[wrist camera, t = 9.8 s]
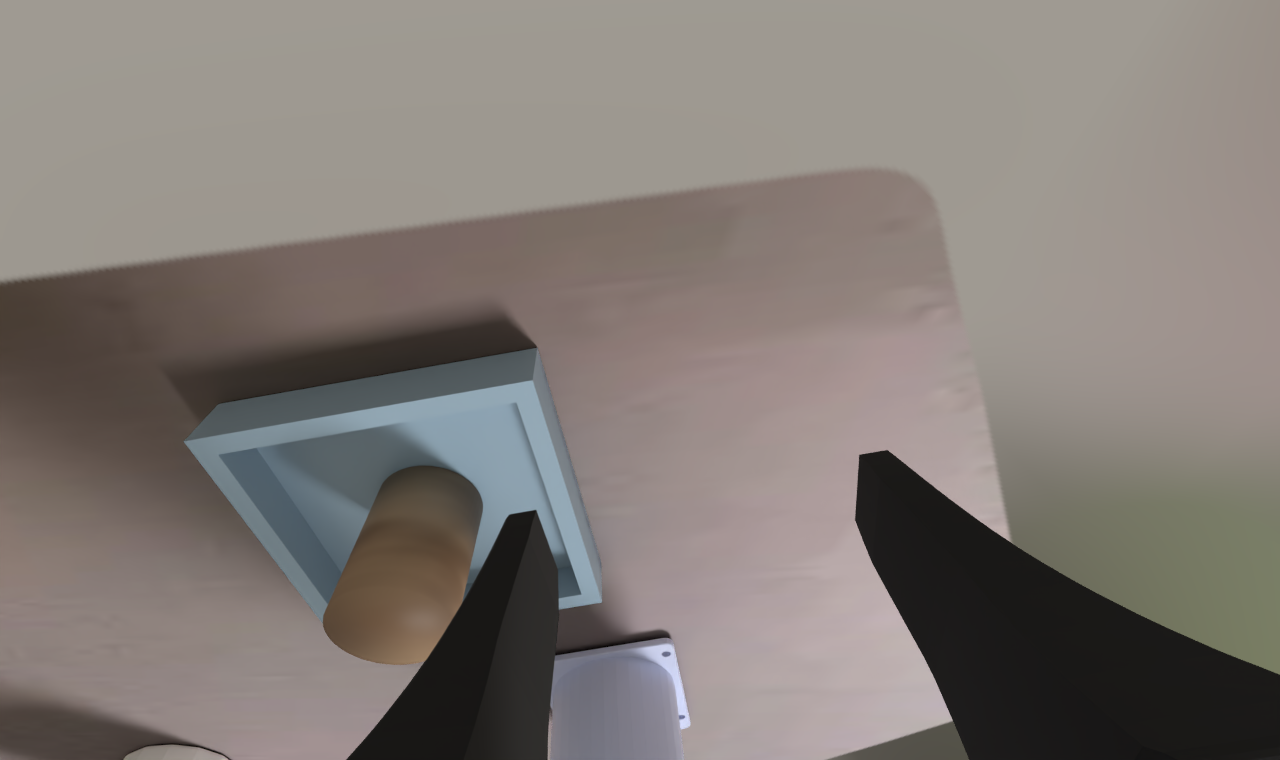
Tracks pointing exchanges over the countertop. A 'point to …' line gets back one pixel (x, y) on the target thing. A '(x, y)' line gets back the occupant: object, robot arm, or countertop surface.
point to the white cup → (173, 753)
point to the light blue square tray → (399, 464)
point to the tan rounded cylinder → (406, 567)
